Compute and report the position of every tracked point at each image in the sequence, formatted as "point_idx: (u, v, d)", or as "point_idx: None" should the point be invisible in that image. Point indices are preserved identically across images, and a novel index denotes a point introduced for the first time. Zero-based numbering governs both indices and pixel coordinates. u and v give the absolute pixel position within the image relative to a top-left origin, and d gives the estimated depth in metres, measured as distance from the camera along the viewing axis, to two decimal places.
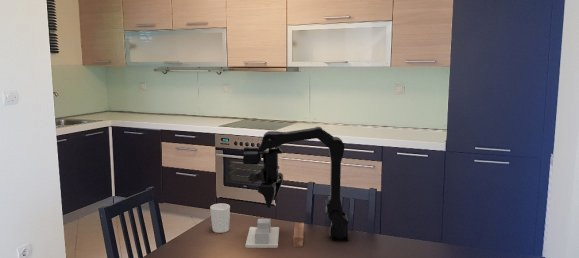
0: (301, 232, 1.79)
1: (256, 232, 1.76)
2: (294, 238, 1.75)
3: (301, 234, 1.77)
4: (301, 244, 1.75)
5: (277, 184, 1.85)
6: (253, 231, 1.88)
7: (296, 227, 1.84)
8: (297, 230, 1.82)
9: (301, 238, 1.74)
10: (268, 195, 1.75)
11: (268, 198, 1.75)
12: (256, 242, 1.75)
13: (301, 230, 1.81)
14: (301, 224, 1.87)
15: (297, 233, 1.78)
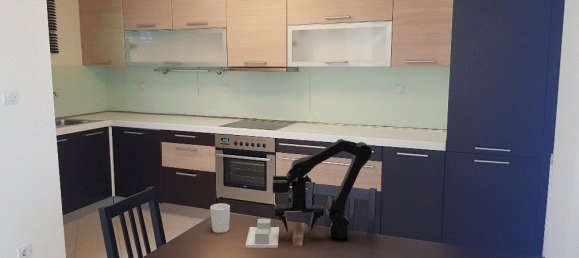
0: (301, 232, 1.79)
1: (256, 232, 1.76)
2: (293, 238, 1.75)
3: (301, 234, 1.77)
4: (300, 244, 1.75)
5: (312, 217, 1.79)
6: (253, 231, 1.88)
7: (296, 227, 1.84)
8: (297, 230, 1.82)
9: (300, 238, 1.74)
10: None
11: None
12: (256, 242, 1.75)
13: (301, 230, 1.81)
14: (301, 224, 1.87)
15: (297, 233, 1.78)
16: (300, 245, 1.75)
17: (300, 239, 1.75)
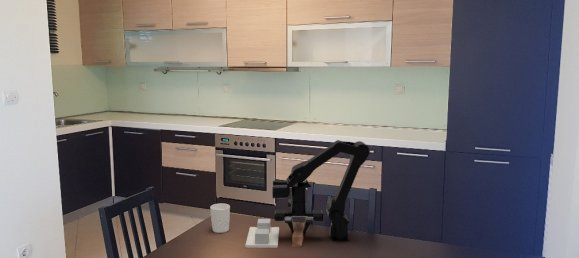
0: (301, 232, 1.79)
1: (256, 232, 1.76)
2: (293, 237, 1.75)
3: (300, 234, 1.77)
4: (300, 244, 1.75)
5: (305, 222, 1.80)
6: (253, 231, 1.88)
7: (296, 227, 1.84)
8: (297, 229, 1.82)
9: (300, 238, 1.74)
10: None
11: None
12: (256, 242, 1.75)
13: (301, 230, 1.81)
14: (301, 224, 1.87)
15: (297, 232, 1.78)
16: (300, 245, 1.75)
17: (300, 239, 1.74)
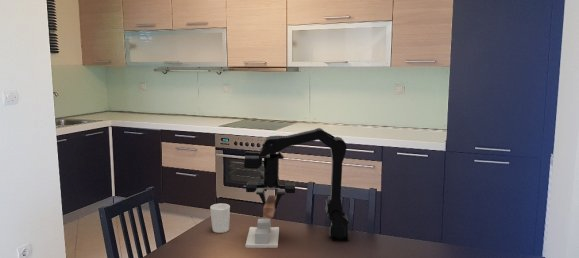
0: (272, 203, 1.78)
1: (256, 232, 1.76)
2: (264, 208, 1.73)
3: (272, 205, 1.76)
4: (271, 215, 1.73)
5: (277, 194, 1.78)
6: (253, 231, 1.88)
7: (268, 199, 1.83)
8: (269, 201, 1.80)
9: (271, 209, 1.73)
10: None
11: None
12: (256, 242, 1.75)
13: (273, 202, 1.79)
14: (274, 197, 1.86)
15: (268, 204, 1.77)
16: (270, 216, 1.73)
17: (271, 210, 1.73)
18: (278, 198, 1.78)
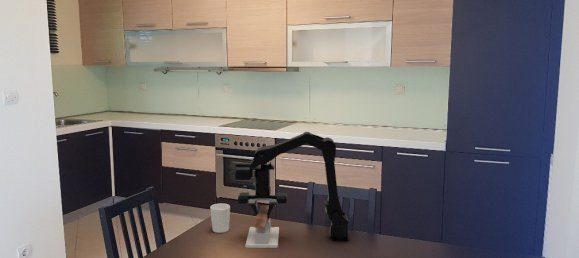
0: (264, 214, 1.79)
1: (256, 232, 1.76)
2: (256, 219, 1.74)
3: (264, 216, 1.77)
4: (263, 225, 1.74)
5: None
6: (253, 231, 1.88)
7: (261, 209, 1.84)
8: (261, 212, 1.81)
9: (263, 219, 1.74)
10: None
11: None
12: (256, 242, 1.75)
13: (265, 212, 1.80)
14: (266, 207, 1.86)
15: (261, 214, 1.78)
16: (263, 226, 1.74)
17: (263, 220, 1.74)
18: (270, 209, 1.79)
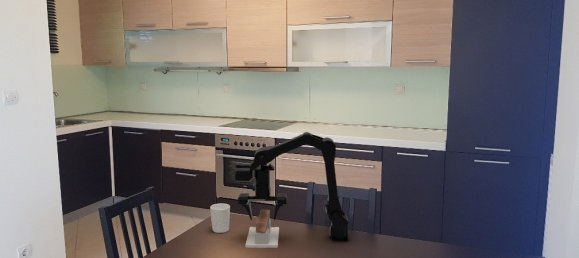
0: (265, 218, 1.79)
1: None
2: (256, 224, 1.74)
3: (264, 220, 1.77)
4: (263, 230, 1.75)
5: (275, 205, 1.79)
6: (253, 231, 1.88)
7: (261, 214, 1.84)
8: (261, 216, 1.81)
9: (263, 224, 1.74)
10: None
11: None
12: (256, 242, 1.75)
13: (265, 217, 1.81)
14: (266, 211, 1.87)
15: (261, 219, 1.78)
16: (263, 231, 1.75)
17: (263, 225, 1.74)
18: (276, 209, 1.79)
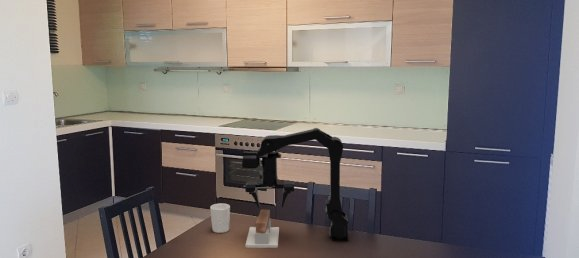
0: (265, 218, 1.79)
1: None
2: (256, 224, 1.74)
3: (264, 220, 1.77)
4: (263, 230, 1.75)
5: (283, 192, 1.80)
6: (253, 231, 1.88)
7: (261, 214, 1.84)
8: (261, 216, 1.81)
9: (263, 224, 1.74)
10: None
11: None
12: (256, 242, 1.75)
13: (265, 217, 1.81)
14: (266, 211, 1.87)
15: (261, 219, 1.78)
16: (263, 231, 1.75)
17: (263, 225, 1.74)
18: (284, 197, 1.79)
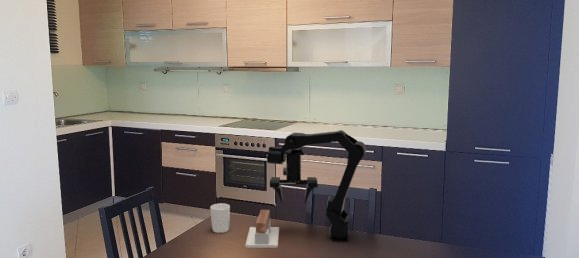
0: (265, 218, 1.79)
1: None
2: (256, 224, 1.74)
3: (264, 220, 1.77)
4: (263, 230, 1.75)
5: (306, 188, 1.84)
6: (253, 231, 1.88)
7: (261, 214, 1.84)
8: (261, 216, 1.81)
9: (263, 224, 1.74)
10: None
11: None
12: (256, 242, 1.75)
13: (265, 217, 1.81)
14: (266, 211, 1.87)
15: (261, 219, 1.78)
16: (263, 231, 1.75)
17: (263, 225, 1.74)
18: (308, 193, 1.83)
